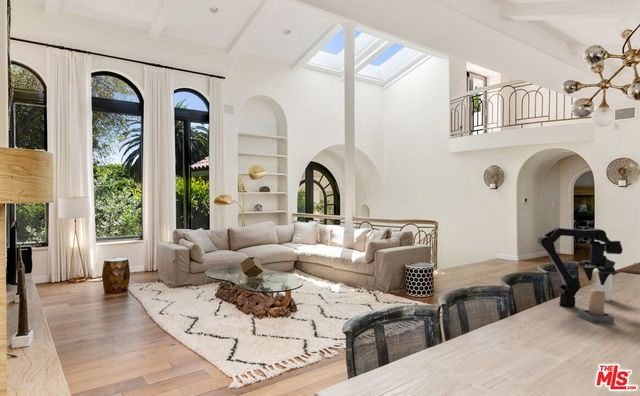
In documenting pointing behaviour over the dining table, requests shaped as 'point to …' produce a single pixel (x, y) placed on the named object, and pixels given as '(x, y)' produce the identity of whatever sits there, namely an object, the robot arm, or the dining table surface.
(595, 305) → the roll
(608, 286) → the milk
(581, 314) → the tray
